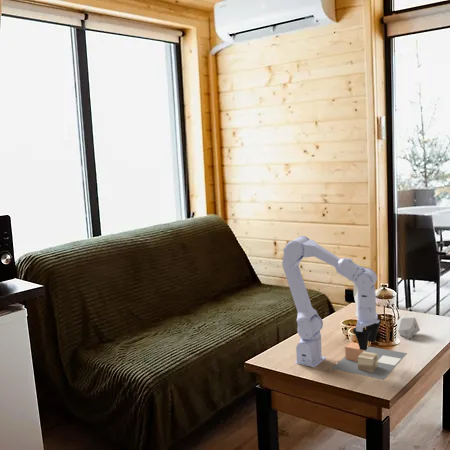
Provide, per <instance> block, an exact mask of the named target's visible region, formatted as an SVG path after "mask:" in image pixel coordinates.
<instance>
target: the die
mask: <svg viewBox="0 0 450 450" xmlns="http://www.w3.org/2000/svg"><path fill="white" fill-rule="evenodd" d="M395 322H396V323H397V326H396V325H395V326H396V329H397V331H398V334H399V335H400V336H402V337H404V338H408V339H411V338H412V337H414V336H415V335H416V334H417V333H418V332H419V331H421V329H420V327H419V323H418V321H417V319H416V317H415V316H412V315H408V314H403V315H402V316H401V317H400V318H398V319H396V321H395Z"/></svg>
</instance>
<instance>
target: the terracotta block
mask: <svg viewBox="0 0 450 450" xmlns="http://www.w3.org/2000/svg"><path fill="white" fill-rule="evenodd" d="M344 349H345V351H344V352H345V354H344V355H345V356H346V359H347V360H353V361H358V356H359V355H360V354H361V353H362V352H363V351H364V352H365V350H361V349H360V347H359V344H358V342H349V343H348V344H347V345H346V346H345V348H344Z"/></svg>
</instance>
